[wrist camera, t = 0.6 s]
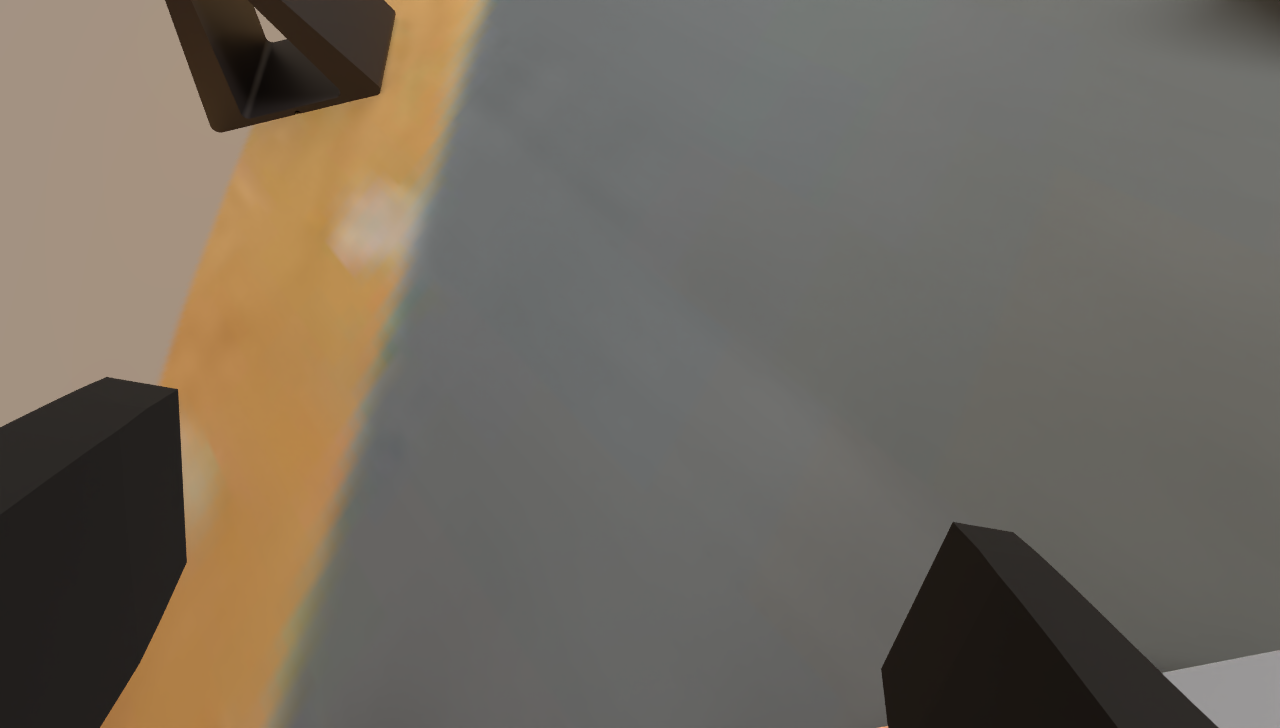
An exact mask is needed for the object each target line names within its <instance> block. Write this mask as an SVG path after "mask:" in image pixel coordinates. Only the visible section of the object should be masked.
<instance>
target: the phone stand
mask: <svg viewBox="0 0 1280 728" xmlns="http://www.w3.org/2000/svg"><path fill="white" fill-rule="evenodd" d="M165 1H166V4H167V7H168V9H169V12H170V15H171V18H172V21H173V23H174V26H175V29H176V32H177V35H178V37H179V40H180V43H181V46H182V48H183V51H184V54H185V57H186V60H187V62H188V65H189V68H190V70H191V73H192V76H193V79H194V82H195V84H196V87H197V90H198V93H199V96H200V98H201V101H202V104H203V107H204V109H205V112H206V115H207V118H208V120H209V123H210V126H211V128H212V129H213V130H215V131H217V132H225V131H230V130H234V129H238V128H243V127H247V126H251V125H254V124H259V123H263V122H267V121H271V120H275V119H279V118H284V117H288V116H292V115H295V112H296V111H300V112H301V113H304V112H309V111H313V110H317V109H321V108H325V107H329V106H333V105H338V104H342V103H346V102H350V101H354V100H358V99H363V98H367V97H371V96H375V95H378V94H379V93H380V90H381V85H382V80H383V75H384V70H385V65H386V60H387V55H388V50H389V45H390V40H391V35H392V30H393V25H394V20H395V15H396V14H395V11H394V10H393V9H392V8H391V7H390V6H389V5H388V4H387V3H386V2H385V1H384V0H165ZM254 7H255V8H256V9H257V10H258V11H259V12H260V13H261V14H262V15H263V16H264V17H266V19H267V20H269V21H270V22H271V23H272V24H273V25H274V26H275V27H276V28H277V29H278V30H279V31H280V32H281V33H282V34H283V35H284V36H285V37H286V38H287V39H286V40H282V41H278V42H274V43H273V42H269V41H268V40H267V39H266V37H265V35H264V32H263V29H262V27H261V24H260V21H259V19H258V16H257V14H256V11H255V8H254Z"/></svg>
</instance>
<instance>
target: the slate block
mask: <svg viewBox="0 0 1280 728" xmlns="http://www.w3.org/2000/svg"><path fill="white" fill-rule="evenodd" d="M1162 674H1163V675H1164V676H1165V677H1166V678H1167V679H1168V680H1169V681H1170V682H1171V683H1172V684H1174V685H1175V686H1176V687H1177V688H1178V689H1179V690H1180V691H1181V692H1182V693H1183V694H1184V695H1185V696H1186V697H1187V698H1188V699H1189V700H1190V701H1191V702H1192V703H1193V704H1194V705H1195V706H1196V707H1197V708H1199V709H1200V710H1201V711H1202V712H1203V713H1204V714H1205V715H1206V716H1207V717H1208V718H1209V719H1210V720H1211V721H1212V722H1213V723H1214V724H1215V725H1216V726H1218V727H1219V728H1280V650H1278V651H1273V652H1268V653H1263V654H1257V655H1252V656H1247V657H1242V658H1237V659H1231V660H1226V661H1221V662H1216V663H1211V664H1206V665H1200V666H1195V667H1190V668H1185V669H1180V670H1174V671H1169V672H1164V673H1162Z"/></svg>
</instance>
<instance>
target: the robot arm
mask: <svg viewBox="0 0 1280 728" xmlns="http://www.w3.org/2000/svg"><path fill="white" fill-rule="evenodd" d="M186 563H187V557H186V538H185V518H184V498H183V479H182V459H181V439H180V420H179V400H178V389H173V388H167V387H162V386H156V385H150V384H144V383H138V382H132V381H126V380H121V379H114V378H109V377H106V378H104V379H101V380H99V381H97V382H94V383H92V384H89V385H87V386H85V387H83V388H81V389H78V390H76V391H74V392H72V393H70V394H68V395H65V396H63V397H61V398H59V399H57V400H55V401H53V402H51V403H49V404H47V405H45V406H43V407H41V408H39V409H37V410H35V411H33V412H30V413H29V414H26V415H25V416H22V417H20V418H18V419H16V420H14V421H12V422H10V423H9V424H6V425H4V426H2V427H0V728H100V726H101V725H102V723H103V722H104V720H105V718H106V717H107V715H108V714H109V712H110V710H111V709H112V707H113V706H114V704H115V702H116V701H117V699H118V698H119V696H120V694H121V693H122V691H123V690H124V688H125V686H126V685H127V683H128V681H129V680H130V678H131V676H132V675H133V673H134V672H135V670H136V668H137V667H138V665H139V663H140V661H141V659H142V657H143V655H144V653H145V651H146V649H147V647H148V645H149V643H150V641H151V639H152V637H153V634H154V632H155V630H156V628H157V626H158V624H159V622H160V620H161V618H162V616H163V614H164V611H165V609H166V607H167V605H168V602H169V600H170V598H171V596H172V594H173V591H174V589H175V587H176V585H177V583H178V580H179V578H180V576H181V574H182V571H183V569H184V567H185V565H186ZM881 670H882V679H883V688H884V696H885V705H886V714H887V722H888V728H1219V727H1218V726H1216V725H1215V724H1214V723H1213V722H1212V721H1211V720H1210V719H1209V718H1208V717H1207V716H1206V715H1205V714H1204V713H1203V712H1202V711H1201V710H1200V709H1199V708H1197V707H1196V706H1195V705H1194V704H1193V703H1192V702H1191V701H1190V700H1189V699H1188V698H1187V697H1186V696H1185V695H1184V694H1183V693H1182V692H1181V691H1180V690H1179V689H1178V688H1177V687H1176V686H1175V685H1174V684H1172V683H1171V682H1170V681H1169V680H1168V679H1167V678H1166V677H1165V676H1164V675H1163V674H1162V673H1161V672H1160V671H1159V670H1158V669H1157V668H1156V667H1155V666H1154V665H1153V664H1152V663H1151V662H1150V661H1149V660H1148V659H1147V658H1146V657H1145V656H1144V655H1143V654H1142V653H1141V652H1140V651H1139V650H1138V649H1136V648H1135V647H1134V646H1133V645H1132V644H1131V643H1130V642H1129V641H1128V640H1127V639H1126V638H1125V637H1124V636H1123V635H1122V634H1121V633H1120V632H1119V631H1118V630H1117V629H1116V628H1115V627H1114V626H1113V625H1112V624H1111V623H1110V622H1109V621H1108V620H1107V619H1106V618H1105V617H1104V616H1103V615H1102V614H1101V613H1100V612H1099V611H1098V610H1097V609H1096V608H1095V607H1094V606H1093V605H1092V604H1091V603H1089V602H1088V601H1087V600H1086V599H1085V598H1084V597H1083V596H1082V595H1081V594H1080V593H1079V592H1078V591H1077V590H1076V589H1075V588H1074V587H1073V586H1072V585H1071V584H1070V583H1069V582H1068V581H1067V580H1066V579H1065V578H1064V577H1063V576H1061V575H1060V574H1059V573H1058V572H1057V571H1056V570H1055V569H1054V568H1053V567H1052V566H1051V565H1050V564H1049V563H1048V562H1047V561H1046V560H1044V559H1043V558H1042V557H1041V556H1040V555H1039V554H1038V553H1037V552H1036V551H1034V550H1033V549H1032V548H1031V547H1030V546H1029V545H1028V544H1026V543H1025V542H1024V541H1023V540H1022V539H1020V538H1019V537H1018V536H1017V535H1016V534H1014V533H1013V532H1008V531H1002V530H996V529H990V528H985V527H979V526H973V525H967V524H961V523H955V522H953V523H952V525H951V527H950V529H949V531H948V533H947V535H946V537H945V539H944V541H943V543H942V546H941V548H940V550H939V552H938V554H937V556H936V558H935V560H934V562H933V564H932V566H931V568H930V570H929V572H928V574H927V576H926V578H925V580H924V582H923V584H922V586H921V589H920V591H919V593H918V595H917V597H916V599H915V601H914V603H913V605H912V607H911V609H910V611H909V613H908V615H907V617H906V619H905V621H904V623H903V625H902V627H901V629H900V632H899V634H898V636H897V638H896V640H895V642H894V644H893V646H892V648H891V650H890V652H889V654H888V656H887V658H886V660H885V662H884V664H883V666H882V668H881Z"/></svg>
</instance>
